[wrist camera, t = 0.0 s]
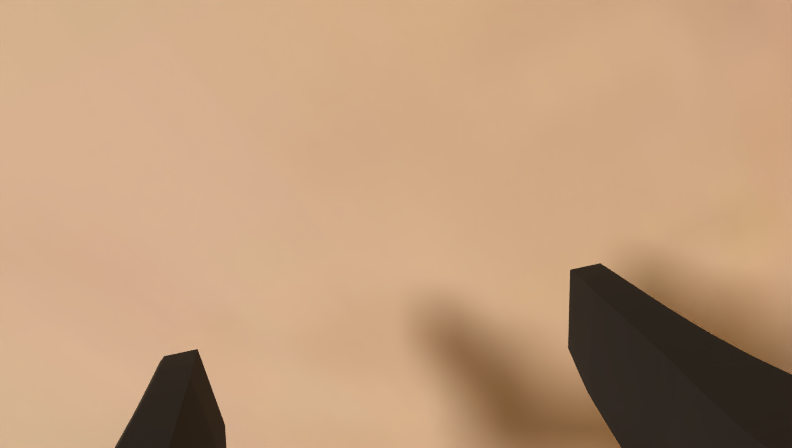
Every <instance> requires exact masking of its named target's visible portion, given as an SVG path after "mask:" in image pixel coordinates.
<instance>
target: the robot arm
mask: <svg viewBox="0 0 792 448" xmlns="http://www.w3.org/2000/svg"><path fill="white" fill-rule="evenodd" d="M568 349H569V351H570V353H571V356H572V358H573V360H574V362H575V365H576V367H577V369H578V372H579V374H580V376H581V378H582V380H583V383H584V385H585V387H586V389H587V391H588V393H589V395H590V397H591V398H592V400H593V402H594V403H595V405H596V407H597V408H598V410H599V412H600V413H601V415H602V417H603V418H604V420H605V422H606V423H607V425H608V427H609V428H610V430H611V431H612V433H613V435H614V436H615V438H616V440H617V441H618V443H619V444H620V446H621V448H792V375H791V374H789V373H787V372H785V371H783V370H781V369H778V368H776V367H774V366H772V365H770V364H768V363H766V362H763V361H761V360H759V359H757V358H755V357H753V356H751V355H749V354H747V353H745V352H743V351H741V350H739V349H738V348H736V347H734V346H732V345H730V344H728V343H727V342H725V341H723V340H721V339H719V338H718V337H716V336H714V335H712V334H710V333H709V332H707V331H705V330H703V329H702V328H700V327H698V326H697V325H695V324H693V323H692V322H690V321H688V320H687V319H685V318H683V317H682V316H680V315H679V314H677V313H675V312H674V311H672V310H671V309H669V308H667V307H666V306H664V305H663V304H661V303H660V302H658V301H656V300H655V299H653V298H652V297H650V296H649V295H647V294H646V293H644V292H643V291H641V290H640V289H638V288H637V287H635V286H634V285H632V284H631V283H629V282H628V281H626V280H625V279H623V278H622V277H620V276H619V275H617V274H616V273H614V272H613V271H611V270H610V269H608V268H607V267H605V266H603V265H602V264H595V265H591V266H586V267H581V268H576V269H572V270H570V300H569V338H568ZM115 448H226V435H225V424H224V421H223V418H222V416H221V413H220V410H219V407H218V405H217V402H216V399H215V396H214V394H213V391H212V388H211V385H210V382H209V380H208V377H207V374H206V371H205V369H204V366H203V363H202V360H201V358H200V355H199V352H198V349H196V350H191V351H187V352H182V353H177V354H173V355H168V356H164V357H163V359H162V360H161V361H160V363H159V365H158V367H157V369H156V371H155V373H154V375H153V377H152V379H151V381H150V383H149V385H148V387H147V389H146V391H145V393H144V395H143V397H142V399H141V401H140V403H139V405H138V407H137V409H136V410H135V412H134V414H133V416H132V418H131V420H130V422H129V423H128V425H127V427H126V429H125V430H124V432H123V434H122V436H121V438H120V439H119V441H118V443H117V445H116V446H115Z"/></svg>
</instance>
